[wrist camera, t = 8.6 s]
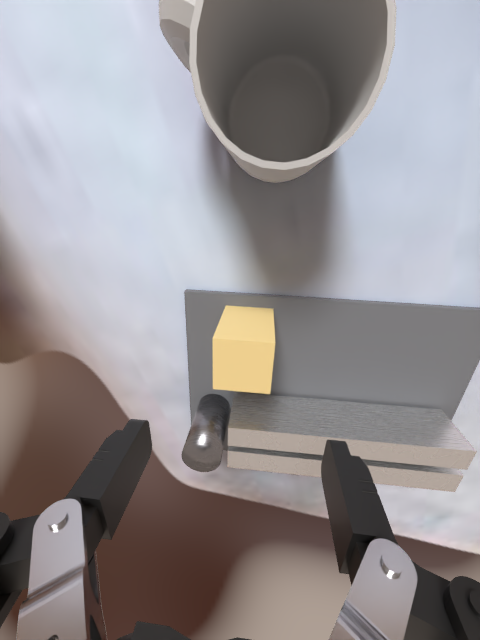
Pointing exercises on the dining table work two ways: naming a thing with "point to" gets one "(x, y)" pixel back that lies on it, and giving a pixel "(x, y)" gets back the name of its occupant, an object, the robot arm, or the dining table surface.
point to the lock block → (244, 350)
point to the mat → (346, 349)
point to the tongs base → (292, 455)
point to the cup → (282, 74)
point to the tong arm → (348, 429)
